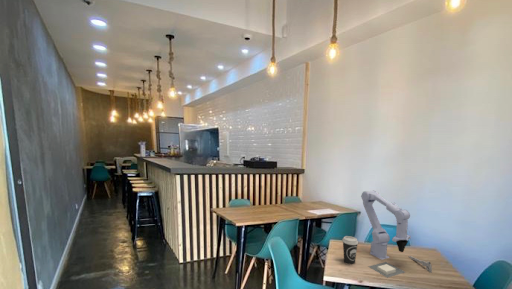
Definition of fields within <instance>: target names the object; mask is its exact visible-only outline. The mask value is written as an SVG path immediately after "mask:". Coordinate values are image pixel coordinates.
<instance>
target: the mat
mask: <svg viewBox="0 0 512 289" xmlns="http://www.w3.org/2000/svg"><path fill="white" fill-rule="evenodd" d="M385 264H387V265H389V266H391V267H393V268H395V269H396V272H395V273H392V274H388V275H385V274H384V273H382V272H380V271H378V270H377V267H378V266H381V265H385ZM367 267H368V268H370V269H372V270H373V271H374V272H377V273H378V274H380V275H382V276H384V277H385V278H387V279H388V278H390V277H395V276H398V275H400V274H405V273H406V271H404V270H403V269H400V268H399V267H397V266H395V265H393V264H391V263H389V262H388V261H384V262H380V263H376V264H371V265H368V266H367Z"/></svg>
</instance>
